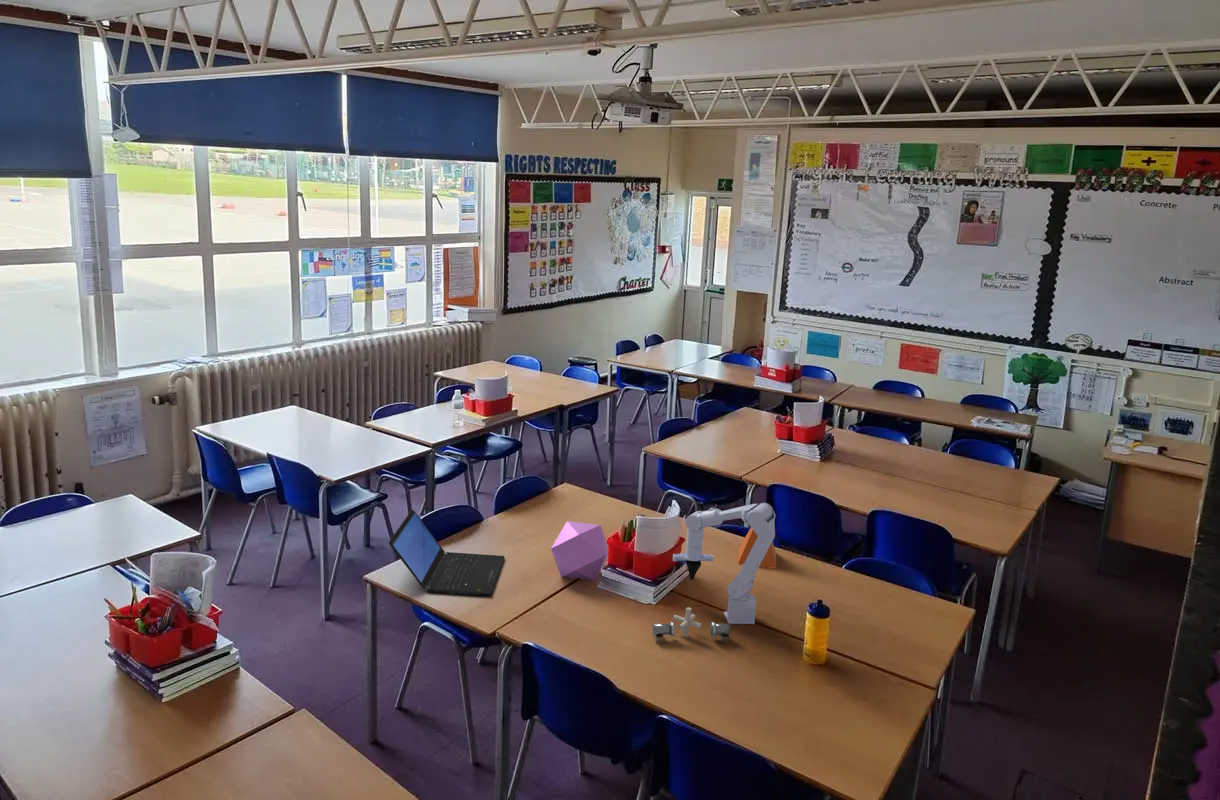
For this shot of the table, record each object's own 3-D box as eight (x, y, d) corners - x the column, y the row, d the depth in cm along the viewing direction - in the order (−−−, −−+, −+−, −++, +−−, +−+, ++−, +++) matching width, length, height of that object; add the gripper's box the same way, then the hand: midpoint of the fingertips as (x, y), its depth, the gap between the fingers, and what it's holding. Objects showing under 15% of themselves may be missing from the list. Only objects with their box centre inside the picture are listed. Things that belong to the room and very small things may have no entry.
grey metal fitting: (671, 635, 288) (673, 619, 287) (674, 643, 283) (675, 626, 282) (651, 635, 288) (652, 619, 286) (653, 643, 283) (654, 626, 281)
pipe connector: (692, 646, 282) (696, 618, 280) (666, 636, 287) (669, 609, 285) (705, 634, 291) (708, 607, 288) (678, 625, 295) (682, 598, 293)
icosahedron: (561, 538, 344) (556, 506, 325) (613, 544, 342) (611, 511, 322) (551, 588, 331) (545, 558, 311) (605, 595, 328) (602, 564, 309)
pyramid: (737, 564, 346) (742, 518, 341) (738, 548, 361) (743, 504, 356) (776, 569, 344) (782, 523, 339) (776, 553, 359) (781, 509, 354)
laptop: (491, 598, 307) (492, 549, 302) (388, 591, 308) (387, 542, 303) (505, 559, 339) (506, 513, 335) (412, 552, 340) (412, 507, 335)
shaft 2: (726, 635, 290) (728, 619, 289) (729, 643, 285) (731, 626, 284) (709, 635, 290) (710, 619, 288) (712, 643, 285) (713, 626, 283)
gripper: (711, 540, 311) (708, 573, 314) (672, 539, 309) (669, 573, 313) (715, 548, 304) (712, 582, 307) (675, 547, 303) (673, 582, 306)
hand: (691, 578), depth 310 cm, fingers closed
